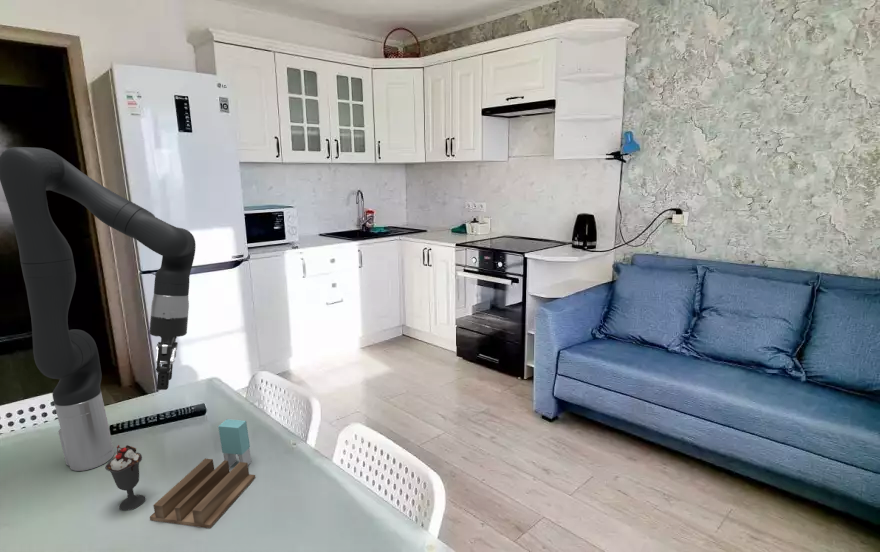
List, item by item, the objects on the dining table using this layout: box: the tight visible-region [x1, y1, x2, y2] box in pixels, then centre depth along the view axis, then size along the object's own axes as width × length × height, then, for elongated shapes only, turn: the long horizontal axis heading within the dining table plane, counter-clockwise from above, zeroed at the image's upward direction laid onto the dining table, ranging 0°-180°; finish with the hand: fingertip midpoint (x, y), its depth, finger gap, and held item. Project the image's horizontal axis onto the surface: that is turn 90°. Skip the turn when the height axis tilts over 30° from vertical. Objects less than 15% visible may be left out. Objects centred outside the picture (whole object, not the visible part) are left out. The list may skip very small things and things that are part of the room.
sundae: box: [104, 444, 147, 512], centre depth 104 cm, size 7×7×15 cm
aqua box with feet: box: [217, 418, 252, 469], centre depth 117 cm, size 5×3×11 cm, turn 78°
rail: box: [149, 457, 256, 529], centre depth 106 cm, size 14×16×4 cm
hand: (164, 384), depth 113 cm, fingers open, 8 cm apart
